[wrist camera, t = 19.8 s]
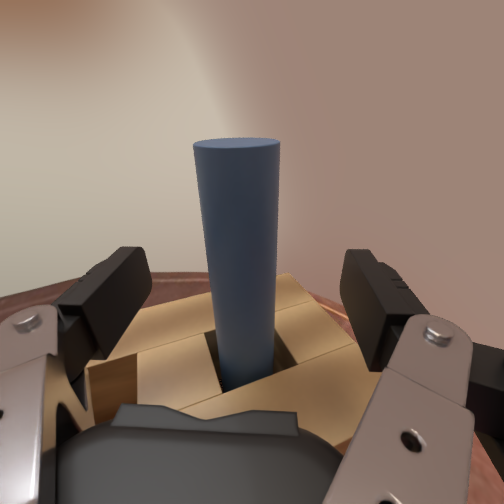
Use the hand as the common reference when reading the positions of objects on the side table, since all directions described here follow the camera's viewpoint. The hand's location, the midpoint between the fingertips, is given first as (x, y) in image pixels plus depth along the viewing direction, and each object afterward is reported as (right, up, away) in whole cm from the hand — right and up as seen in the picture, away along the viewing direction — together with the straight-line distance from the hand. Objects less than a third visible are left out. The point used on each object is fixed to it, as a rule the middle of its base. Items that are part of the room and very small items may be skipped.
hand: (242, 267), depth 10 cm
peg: (0, -9, +7) cm, 12 cm away
